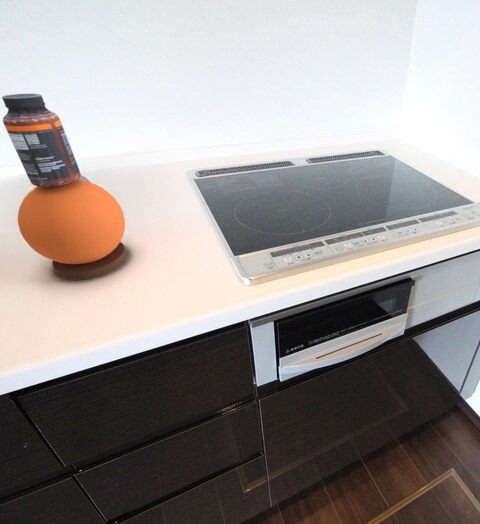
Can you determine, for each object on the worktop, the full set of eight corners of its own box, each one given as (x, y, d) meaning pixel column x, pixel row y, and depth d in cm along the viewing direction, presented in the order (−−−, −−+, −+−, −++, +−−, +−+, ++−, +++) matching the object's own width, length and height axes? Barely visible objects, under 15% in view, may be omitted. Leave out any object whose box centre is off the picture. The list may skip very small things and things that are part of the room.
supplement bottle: (72, 172, 55) (41, 91, 49) (89, 180, 52) (59, 95, 47) (24, 182, 51) (-16, 94, 45) (41, 191, 48) (0, 99, 42)
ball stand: (47, 297, 52) (-2, 211, 44) (41, 255, 60) (-2, 175, 52) (145, 268, 59) (117, 188, 51) (128, 233, 67) (101, 160, 59)
